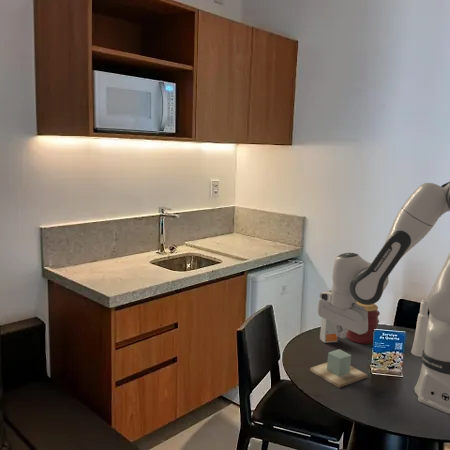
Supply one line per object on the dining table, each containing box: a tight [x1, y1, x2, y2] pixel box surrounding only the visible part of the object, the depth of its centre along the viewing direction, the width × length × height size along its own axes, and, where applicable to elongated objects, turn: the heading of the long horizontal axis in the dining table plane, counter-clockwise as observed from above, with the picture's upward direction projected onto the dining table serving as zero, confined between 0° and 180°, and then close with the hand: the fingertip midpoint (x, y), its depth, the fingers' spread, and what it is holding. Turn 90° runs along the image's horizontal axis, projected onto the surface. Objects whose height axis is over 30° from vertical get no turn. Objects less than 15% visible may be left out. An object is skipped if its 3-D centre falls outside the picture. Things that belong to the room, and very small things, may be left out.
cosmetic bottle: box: [410, 299, 429, 358], centre depth 188 cm, size 6×6×22 cm
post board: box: [309, 361, 368, 389], centre depth 171 cm, size 14×14×7 cm
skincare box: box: [319, 317, 338, 344], centre depth 198 cm, size 6×4×12 cm
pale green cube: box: [326, 348, 352, 377], centre depth 171 cm, size 6×6×7 cm
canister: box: [345, 302, 381, 345], centre depth 202 cm, size 13×13×18 cm
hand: (340, 336), depth 169 cm, fingers closed
